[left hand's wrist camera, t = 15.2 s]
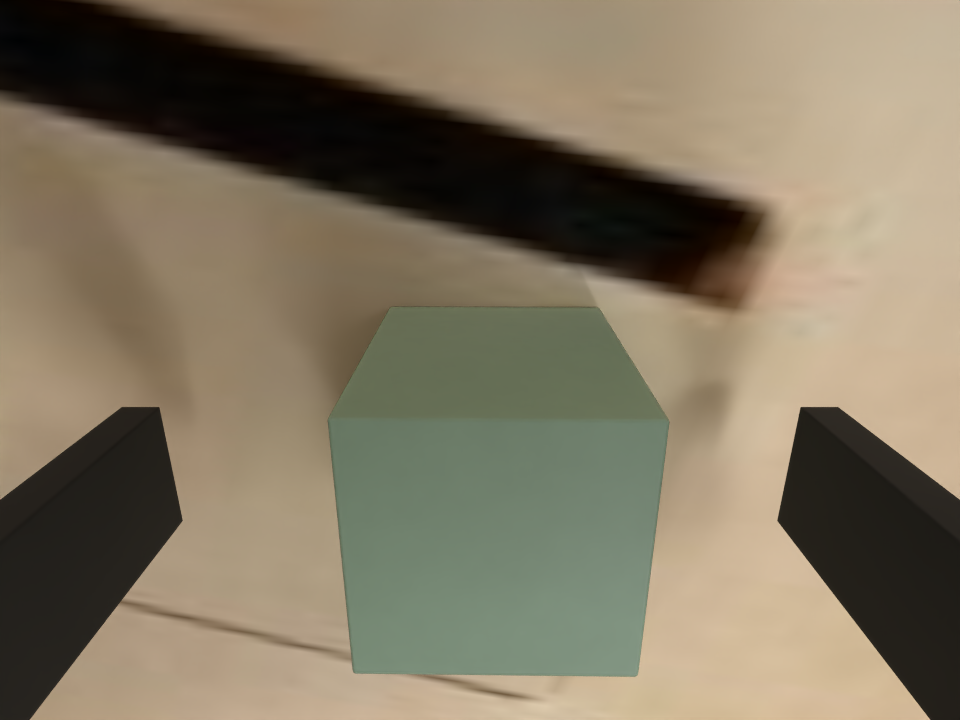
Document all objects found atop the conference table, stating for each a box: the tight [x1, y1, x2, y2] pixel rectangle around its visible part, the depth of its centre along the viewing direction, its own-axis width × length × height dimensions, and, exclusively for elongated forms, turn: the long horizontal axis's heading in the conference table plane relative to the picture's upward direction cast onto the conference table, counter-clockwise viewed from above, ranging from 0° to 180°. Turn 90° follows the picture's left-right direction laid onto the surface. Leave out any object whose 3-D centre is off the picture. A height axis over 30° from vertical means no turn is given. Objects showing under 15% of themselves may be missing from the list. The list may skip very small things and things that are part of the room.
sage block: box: [328, 307, 669, 677], centre depth 12 cm, size 5×5×6 cm
